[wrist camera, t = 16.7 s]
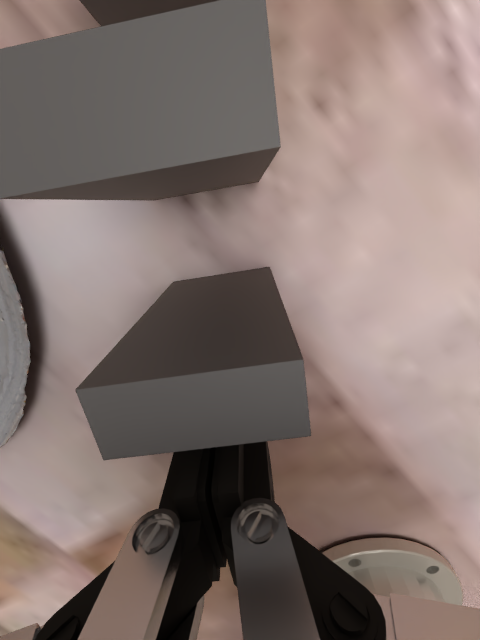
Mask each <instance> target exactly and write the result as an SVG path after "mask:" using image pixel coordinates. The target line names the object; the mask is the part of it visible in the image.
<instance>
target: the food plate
mask: <svg viewBox="0 0 480 640" xmlns="http://www.w3.org/2000/svg"><path fill="white" fill-rule="evenodd" d="M1 245H2V244H1ZM2 250H3V247H2ZM6 262H7V261H6V260H5V256H4V252H3V251H0V447H1V446H3V445H4V444H6V443H7V442H8V439H9V438H10V437H11V436H12V435H13V433H14V432H15V430H16V429H17V426H18V424H19V421H20V419H21V418H22V416H23V415H24V414H23V413H24V412H23V409H24V408H23V407H24V406H25V404H26V403H25V402H26V401H25V399H26V395H25V391H24V386H26V385H25V384H26V381H27V379H26V378H27V376H28V375H26V374H27V373H28V369H29V368H28V366H29V367H30V363H31V360H30V357H29V355H30V351H29V350H30V349H29V348H30V342H29V340H28V337H27V334H28V333H27V324H26V322H25V320H24V319H25V318H24V314H23V308H24V307H23V308H22V305H21V304H20V302H19V301H21V302H22V300H21V298H20V294H19V291H18V288H17V284H16V286H15V282H14V280H13V278H12V275H11V273H10V270H9V269H8V265H7V263H6ZM16 289H17V290H16ZM17 291H18V292H17Z"/></svg>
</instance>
